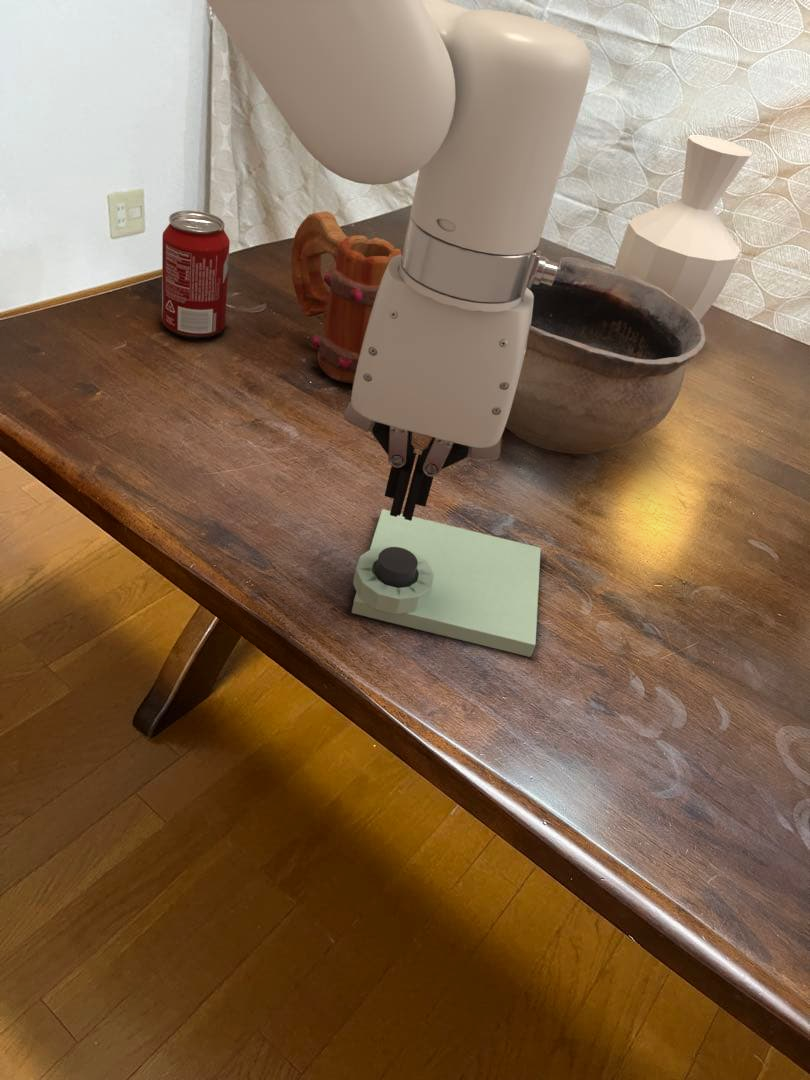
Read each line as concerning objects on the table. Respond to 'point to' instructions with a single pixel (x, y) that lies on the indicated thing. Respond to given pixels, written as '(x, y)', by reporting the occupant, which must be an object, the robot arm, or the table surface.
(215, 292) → the soda can
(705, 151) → the vase
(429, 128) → the robot arm
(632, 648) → the table surface
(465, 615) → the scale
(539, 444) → the ceramic bowl
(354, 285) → the mug
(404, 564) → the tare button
